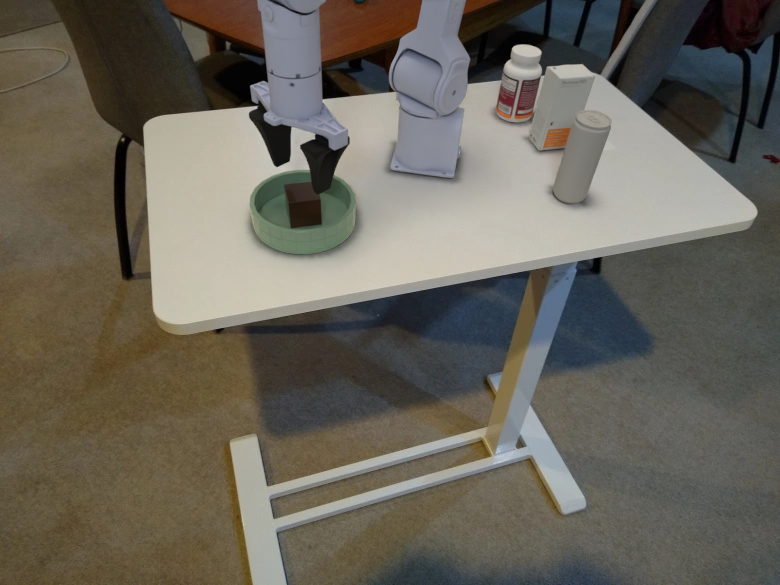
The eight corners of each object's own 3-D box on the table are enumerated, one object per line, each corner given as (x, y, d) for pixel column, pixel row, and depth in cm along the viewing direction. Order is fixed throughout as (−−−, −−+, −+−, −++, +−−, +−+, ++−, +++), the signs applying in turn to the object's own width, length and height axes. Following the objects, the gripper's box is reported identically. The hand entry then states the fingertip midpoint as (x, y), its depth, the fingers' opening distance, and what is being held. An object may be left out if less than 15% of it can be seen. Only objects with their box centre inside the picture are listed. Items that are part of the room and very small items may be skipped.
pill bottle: (531, 108, 100) (547, 45, 92) (531, 126, 95) (547, 60, 88) (495, 103, 100) (508, 40, 92) (493, 120, 96) (506, 55, 88)
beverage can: (564, 208, 80) (590, 130, 71) (544, 189, 83) (567, 112, 74) (592, 201, 81) (621, 124, 72) (571, 182, 84) (597, 106, 76)
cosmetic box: (538, 152, 90) (559, 78, 81) (527, 138, 92) (545, 65, 84) (573, 148, 91) (596, 75, 82) (560, 134, 94) (582, 62, 85)
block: (316, 206, 76) (315, 180, 73) (321, 224, 73) (320, 199, 70) (286, 209, 75) (283, 184, 72) (290, 228, 72) (288, 202, 69)
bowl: (363, 198, 79) (364, 176, 76) (343, 261, 69) (343, 239, 67) (270, 185, 80) (268, 163, 77) (238, 245, 70) (234, 223, 68)
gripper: (221, 54, 61) (238, 163, 71) (310, 104, 55) (315, 217, 64) (274, 38, 65) (283, 143, 75) (363, 82, 58) (360, 192, 68)
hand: (301, 176), depth 70 cm, fingers open, 7 cm apart
